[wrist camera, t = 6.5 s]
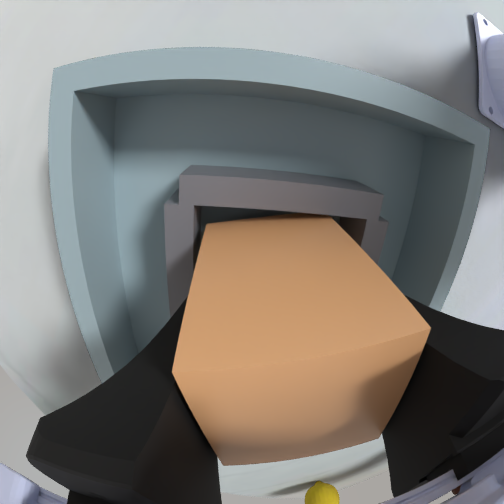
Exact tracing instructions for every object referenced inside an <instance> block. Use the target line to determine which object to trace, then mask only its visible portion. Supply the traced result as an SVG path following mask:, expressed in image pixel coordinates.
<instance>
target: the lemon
mask: <svg viewBox="0 0 504 504" xmlns="http://www.w3.org/2000/svg"><path fill="white" fill-rule="evenodd" d="M305 504H339V494H338V492H337V490H336V488H335V487H334V486H332V485H330V484H327V483H323V482H321V481H317V482H316V483H315V485H314V486H312V487H311V488H310V489H309V490H308V491H307V493H306V495H305Z"/></svg>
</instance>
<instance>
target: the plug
mask: <svg viewBox="0 0 504 504" xmlns="http://www.w3.org/2000/svg"><path fill="white" fill-rule="evenodd" d="M430 330H431V327H430V326H429V325H428V323H427V322H426V321H425V320H424V319H423V317H422V316H421V315H420V314H419V312H418V311H417V310H416V309H415V308H414V306H413V305H412V304H411V303H410V302H409V300H408V299H407V298H406V297H405V296H404V295H403V293H402V292H401V291H400V290H399V289H398V288H397V286H396V285H395V284H394V283H393V282H392V281H391V280H390V279H389V277H388V276H387V275H386V274H385V273H384V272H383V271H382V270H381V269H380V267H379V266H378V265H377V264H376V263H375V262H374V261H373V260H372V259H371V258H370V257H369V256H368V254H367V253H366V252H365V251H364V250H363V249H362V248H361V247H360V246H359V245H358V244H357V243H356V242H355V241H354V240H353V239H352V238H351V237H350V236H349V235H348V234H347V233H346V232H345V231H344V230H343V229H342V228H341V227H340V226H339V225H338V224H337V223H336V222H335V221H334V220H333V219H332V218H331V217H330V216H329V215H322V214H312V213H292V214H283V215H274V216H265V217H256V218H248V219H240V220H232V221H224V222H216V223H209V224H206V228H205V231H204V235H203V239H202V242H201V246H200V250H199V254H198V258H197V262H196V266H195V270H194V274H193V278H192V282H191V286H190V290H189V294H188V299H187V303H186V307H185V312H184V316H183V321H182V325H181V330H180V334H179V339H178V344H177V349H176V354H175V358H174V364H173V369H172V373H173V376H174V378H175V380H176V382H177V384H178V386H179V388H180V390H181V392H182V394H183V396H184V398H185V400H186V402H187V404H188V406H189V408H190V410H191V411H192V413H193V415H194V417H195V419H196V421H197V422H198V424H199V426H200V428H201V430H202V431H203V433H204V435H205V437H206V438H207V440H208V442H209V443H210V445H211V447H212V448H213V450H214V452H215V453H216V455H217V456H218V458H219V460H220V461H221V463H222V464H223V466H228V465H247V464H259V463H268V462H277V461H284V460H291V459H297V458H303V457H308V456H314V455H319V454H323V453H328V452H332V451H336V450H340V449H344V448H348V447H352V446H355V445H359V444H362V443H365V442H369V441H372V440H375V439H378V438H379V437H380V435H381V434H382V432H383V430H384V429H385V427H386V425H387V423H388V422H389V420H390V418H391V416H392V415H393V413H394V411H395V409H396V407H397V405H398V403H399V401H400V399H401V398H402V396H403V394H404V392H405V389H406V387H407V385H408V383H409V381H410V379H411V377H412V375H413V372H414V370H415V368H416V365H417V363H418V361H419V358H420V356H421V353H422V351H423V348H424V346H425V343H426V341H427V338H428V335H429V332H430Z"/></svg>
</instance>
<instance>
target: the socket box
mask: <svg viewBox="0 0 504 504" xmlns="http://www.w3.org/2000/svg"><path fill="white" fill-rule="evenodd" d="M489 136H490V129H489V128H488V127H486V126H485V125H483V124H481V123H480V122H478V121H476V120H475V119H473V118H471V117H469V116H468V115H466V114H464V113H462V112H460V111H459V110H457V109H455V108H453V107H451V106H449V105H447V104H445V103H443V102H441V101H439V100H437V99H435V98H433V97H430V96H428V95H426V94H424V93H421V92H419V91H417V90H414V89H412V88H410V87H407V86H405V85H402V84H399V83H397V82H394V81H391V80H389V79H386V78H383V77H380V76H377V75H374V74H371V73H368V72H365V71H361V70H358V69H354V68H351V67H347V66H344V65H340V64H336V63H332V62H327V61H323V60H318V59H314V58H309V57H303V56H298V55H292V54H285V53H279V52H271V51H263V50H253V49H240V48H222V47H182V48H163V49H151V50H141V51H133V52H126V53H119V54H113V55H107V56H102V57H97V58H92V59H88V60H83V61H79V62H75V63H71V64H68V65H64V66H60V67H57V68H54V70H53V77H52V85H51V95H50V108H49V129H48V155H49V178H50V191H51V201H52V210H53V217H54V224H55V231H56V237H57V242H58V248H59V253H60V258H61V262H62V267H63V271H64V276H65V280H66V284H67V287H68V291H69V295H70V298H71V302H72V305H73V309H74V312H75V315H76V318H77V321H78V324H79V327H80V330H81V333H82V336H83V339H84V341H85V344H86V347H87V349H88V352H89V354H90V357H91V359H92V362H93V364H94V367H95V369H96V371H97V374H98V376H99V378H100V380H101V383H104V382H105V381H106V380H107V379H109V378H110V377H111V376H113V375H114V374H115V373H117V372H118V371H119V370H120V369H122V368H123V367H124V366H125V365H127V364H128V363H129V362H130V361H131V360H132V359H133V358H134V357H135V356H136V355H138V354H139V353H140V352H141V351H142V350H143V349H144V348H145V347H146V346H147V345H148V344H149V343H150V341H151V340H152V339H153V338H154V337H155V336H156V335H157V334H158V332H159V331H160V330H161V329H162V328H163V327H164V326H165V324H166V323H167V322H168V321H169V319H170V318H171V317H172V316H173V314H174V313H175V312H176V311H177V309H178V308H179V307H180V305H181V304H182V303H183V301H184V300H185V299H186V297H187V296H188V294H189V290H190V286H191V282H192V278H193V274H194V270H195V266H196V262H197V258H198V254H199V250H200V246H201V242H202V239H203V235H204V231H205V228H206V224H209V223H216V222H224V221H232V220H240V219H248V218H256V217H265V216H274V215H283V214H292V213H312V214H322V215H329V216H330V217H331V218H332V219H333V220H334V221H335V222H336V223H337V224H338V225H339V226H340V227H341V228H342V229H343V230H344V231H345V232H346V233H347V234H348V235H349V236H350V237H351V238H352V239H353V240H354V241H355V242H356V243H357V244H358V245H359V246H360V247H361V248H362V249H363V250H364V251H365V252H366V253H367V254H368V256H369V257H370V258H371V259H372V260H373V261H374V262H375V263H376V264H377V265H378V266H379V267H380V269H381V270H382V271H383V272H384V273H385V274H386V275H387V276H388V277H389V279H390V280H391V281H392V282H393V283H394V284H395V285H396V286H397V288H398V289H399V290H400V291H401V292H402V293H403V294H404V295H406V296H408V297H410V298H412V299H414V300H416V301H418V302H420V303H422V304H424V305H426V306H428V307H430V308H432V309H435V310H437V311H441V309H442V306H443V304H444V302H445V300H446V298H447V295H448V293H449V291H450V288H451V286H452V283H453V281H454V278H455V276H456V273H457V271H458V268H459V265H460V263H461V260H462V257H463V254H464V251H465V248H466V245H467V242H468V239H469V236H470V232H471V229H472V225H473V222H474V218H475V214H476V211H477V207H478V202H479V198H480V194H481V189H482V184H483V179H484V173H485V167H486V161H487V154H488V146H489Z"/></svg>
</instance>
